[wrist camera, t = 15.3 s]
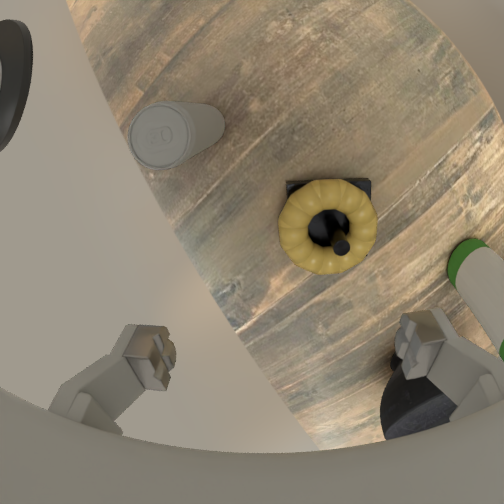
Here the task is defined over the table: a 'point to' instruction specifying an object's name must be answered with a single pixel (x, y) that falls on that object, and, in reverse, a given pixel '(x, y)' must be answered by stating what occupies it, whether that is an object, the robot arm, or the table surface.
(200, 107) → the beverage can
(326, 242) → the post
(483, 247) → the bottle
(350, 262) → the ring doughnut
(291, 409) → the table surface
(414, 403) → the pitcher
